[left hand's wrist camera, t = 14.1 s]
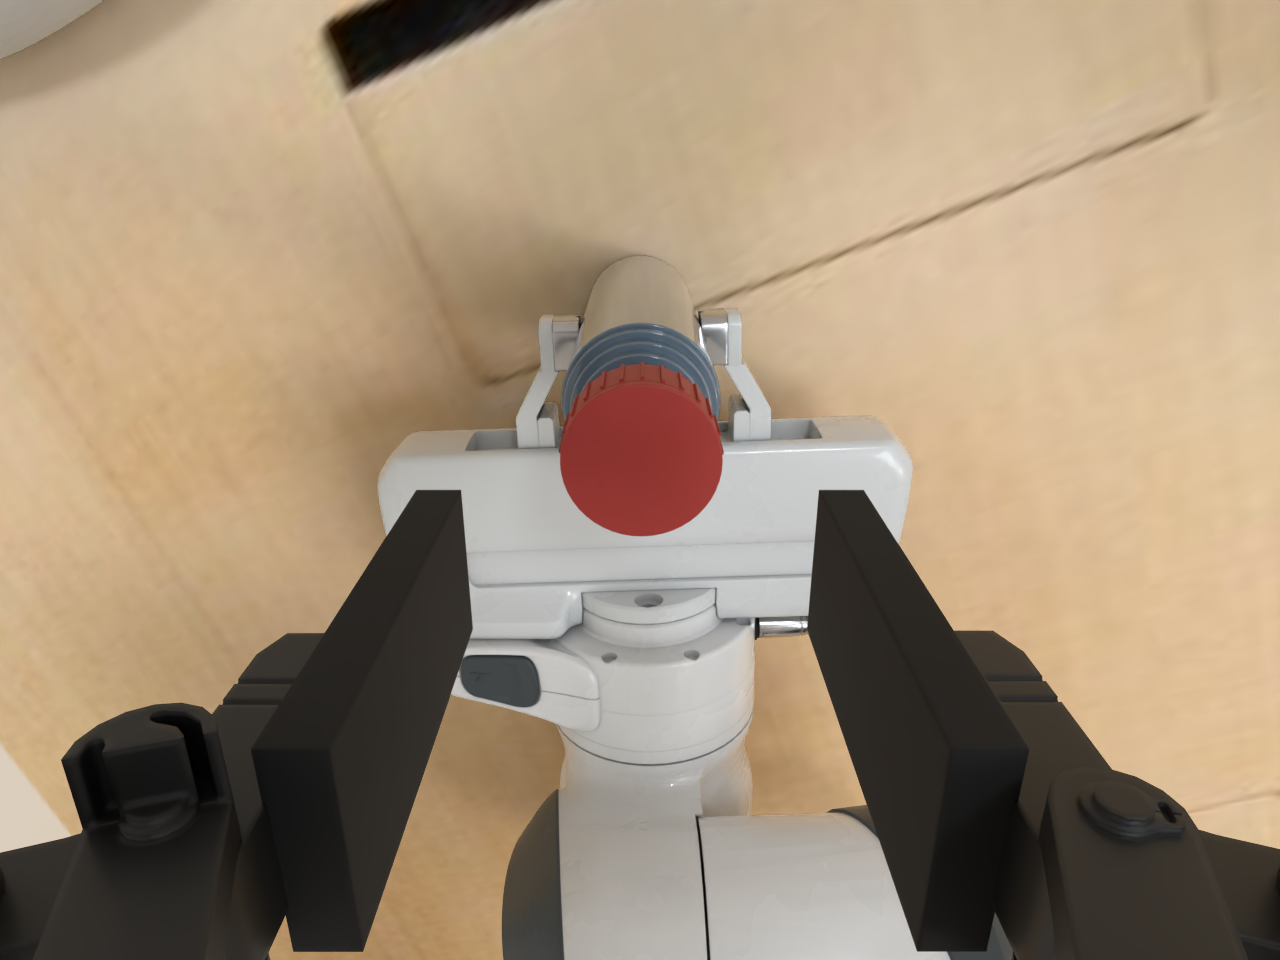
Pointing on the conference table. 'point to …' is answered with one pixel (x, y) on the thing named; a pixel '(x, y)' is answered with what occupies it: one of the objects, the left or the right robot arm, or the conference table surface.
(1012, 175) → the conference table surface
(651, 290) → the bottle
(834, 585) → the left robot arm
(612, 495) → the cap
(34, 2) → the projector
